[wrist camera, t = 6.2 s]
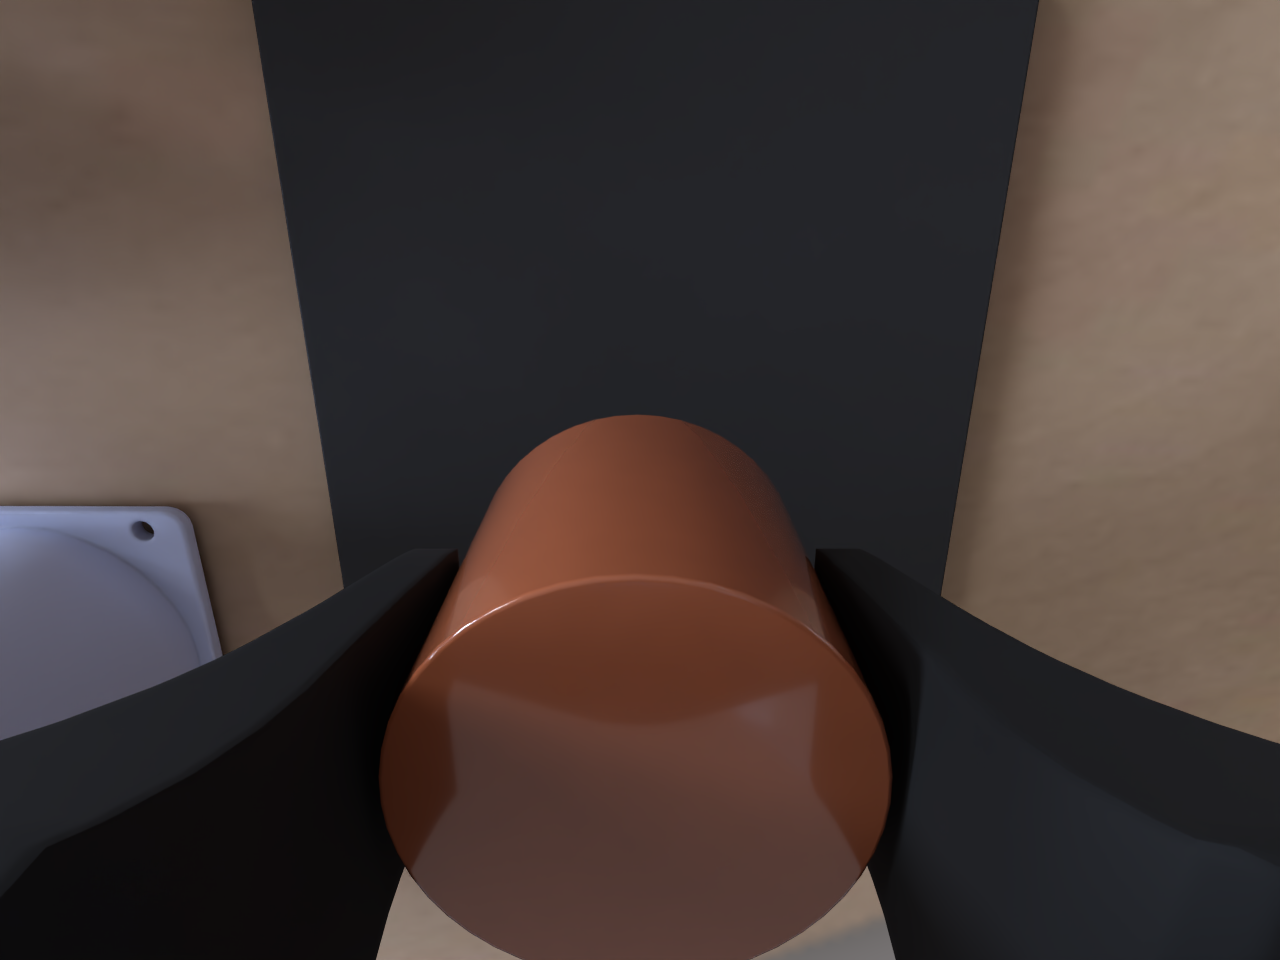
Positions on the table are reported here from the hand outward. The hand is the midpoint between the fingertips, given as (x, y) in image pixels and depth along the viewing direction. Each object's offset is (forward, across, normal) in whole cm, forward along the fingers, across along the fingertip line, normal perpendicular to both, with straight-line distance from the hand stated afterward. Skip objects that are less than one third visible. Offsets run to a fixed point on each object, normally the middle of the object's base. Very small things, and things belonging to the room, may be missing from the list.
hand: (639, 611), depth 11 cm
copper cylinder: (+1, 0, 0) cm, 1 cm away
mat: (+8, 0, +1) cm, 8 cm away
